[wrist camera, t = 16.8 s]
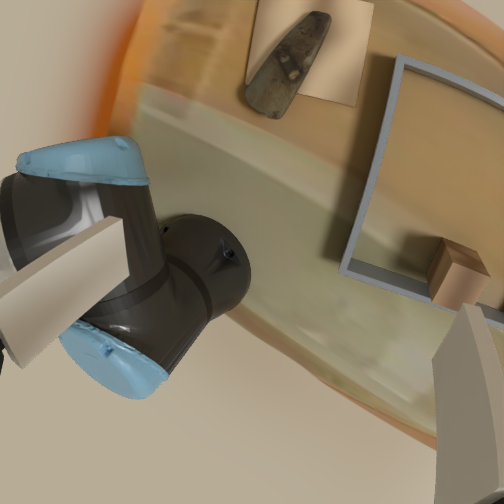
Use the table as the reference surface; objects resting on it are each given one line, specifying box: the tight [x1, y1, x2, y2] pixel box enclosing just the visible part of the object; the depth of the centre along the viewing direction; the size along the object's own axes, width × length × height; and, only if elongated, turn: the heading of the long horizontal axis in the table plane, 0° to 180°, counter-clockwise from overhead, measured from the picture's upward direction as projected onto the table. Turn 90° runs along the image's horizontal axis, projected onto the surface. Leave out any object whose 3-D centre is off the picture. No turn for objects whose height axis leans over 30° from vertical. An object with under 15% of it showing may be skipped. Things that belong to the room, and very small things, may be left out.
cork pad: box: [245, 0, 374, 107], centre depth 26 cm, size 12×12×1 cm
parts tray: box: [338, 54, 504, 330], centre depth 26 cm, size 26×24×3 cm
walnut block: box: [426, 237, 491, 312], centre depth 29 cm, size 5×5×6 cm
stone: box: [245, 11, 332, 119], centre depth 27 cm, size 13×5×2 cm, turn 152°
